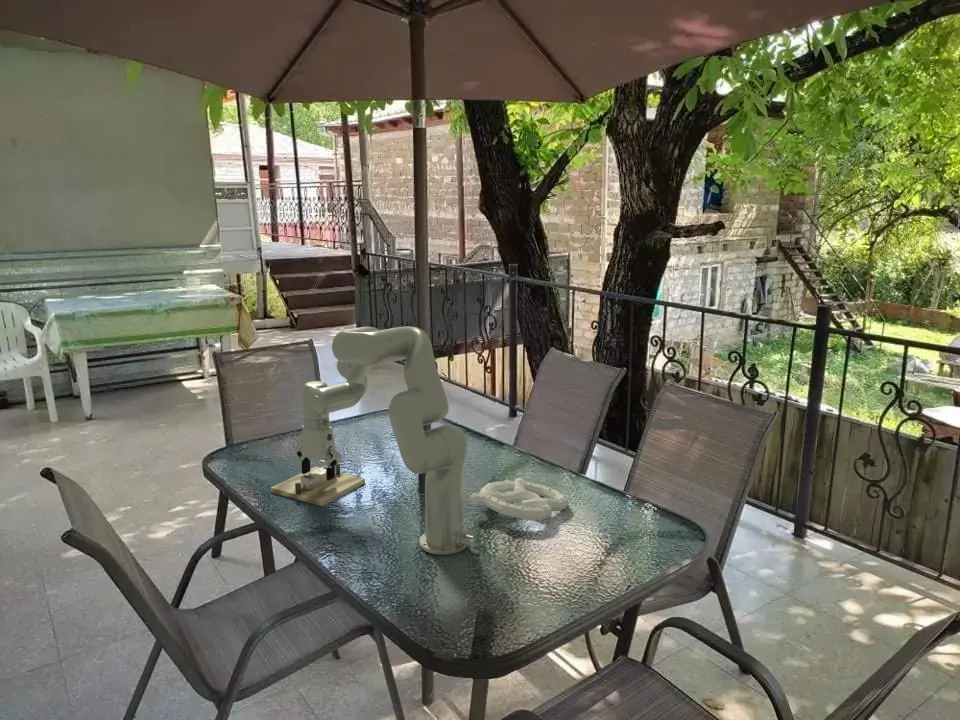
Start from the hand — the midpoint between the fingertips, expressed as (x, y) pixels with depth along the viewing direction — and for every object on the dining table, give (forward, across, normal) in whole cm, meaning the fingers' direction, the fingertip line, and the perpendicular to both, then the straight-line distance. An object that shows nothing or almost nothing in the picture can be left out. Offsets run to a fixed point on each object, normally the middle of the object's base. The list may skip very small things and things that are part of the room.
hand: (318, 475), depth 215 cm
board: (+4, 0, 0) cm, 4 cm away
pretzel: (+4, -60, -18) cm, 63 cm away
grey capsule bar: (+2, 0, 0) cm, 2 cm away
